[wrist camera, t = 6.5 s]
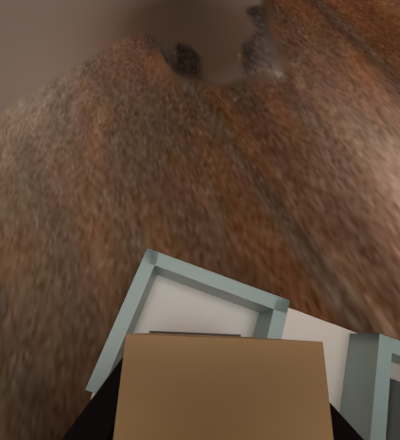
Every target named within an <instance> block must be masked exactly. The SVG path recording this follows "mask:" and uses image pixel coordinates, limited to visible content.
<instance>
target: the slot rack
mask: <svg viewBox="0 0 400 440" xmlns="http://www.w3.org/2000/svg"><path fill="white" fill-rule="evenodd" d="M289 302H290V301H289V300H287V299H284V298H281V297H279V296H276V295H273V294H270V293H268V292H265V291H262V290H259V289H257V288H254V287H251V286H249V285H246V284H243V283H240V282H238V281H235V280H232V279H230V278H227V277H224V276H221V275H219V274H216V273H213V272H210V271H208V270H205V269H202V268H200V267H197V266H194V265H191V264H189V263H186V262H183V261H180V260H178V259H175V258H172V257H170V256H167V255H164V254H161V253H159V252H156V251H153V250H151V249H148V248H147V250H146V252H145V255H144V257H143V259H142V261H141V264H140V266H139V268H138V271H137V273H136V275H135V277H134V280H133V282H132V284H131V287H130V289H129V291H128V293H127V296H126V298H125V300H124V303H123V305H122V307H121V309H120V312H119V314H118V316H117V319H116V321H115V323H114V325H113V328H112V330H111V332H110V334H109V337H108V339H107V341H106V344H105V346H104V348H103V350H102V353H101V355H100V357H99V360H98V362H97V364H96V366H95V369H94V371H93V373H92V376H91V378H90V380H89V382H88V385H87V387H86V389H85V390H87V391H90V392H92V393H93V394H92V396H91V399H92V398H93V396H94V395H95V394H96V392H97V391H98V390H99V388H100V387H101V386H102V384H103V383H104V381H105V380H106V379H107V377H108V376H109V375H110V373H111V372H112V371H113V369H114V368H115V367H116V365H117V364H118V362H119V361H120V360H121V358H122V357H123V355H124V347H125V339H126V334H138V333H149V331H168V332H192V333H217V334H241V337H255V338H270V339H286V340H302V341H317V342H323V348H324V358H325V367H326V376H327V385H328V394H329V402H330V403H331V404H332V405H333V406H334V407H335V408H336V410H337V411H338V412H339V413H340V414H341V415H342V416H343V417H344V418H345V419H346V420H347V422H348V423H349V424H350V425H351V426H352V427H353V428H354V429H355V430H356V431H357V433H358V434H359V435H360V436H361V437H362V438H363V439H364V440H386V427H387V413H388V399H389V386H390V378H391V379H394V380H397V381H399V382H400V341H398V340H396V339H393V338H390V337H387V336H385V335H382V334H358V333H356V332H353V331H350V330H347V329H345V328H342V327H339V326H337V325H334V324H331V323H328V322H326V321H323V320H320V319H318V318H315V317H312V316H309V315H307V314H304V313H301V312H299V311H296V310H293V309H290V308H288V307H289Z"/></svg>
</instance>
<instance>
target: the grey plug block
mask: <svg viewBox="0 0 400 440" xmlns="http://www.w3.org/2000/svg"><path fill="white" fill-rule="evenodd" d="M386 440H400V382H399V381H397V380H394V379H391V378H390V386H389V399H388V413H387V427H386Z"/></svg>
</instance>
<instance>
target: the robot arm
mask: <svg viewBox="0 0 400 440" xmlns="http://www.w3.org/2000/svg"><path fill="white" fill-rule="evenodd" d="M122 363H123V357H122V358H121V360H120V361H119V362H118V364H117V365H116V367H115V368H114V369H113V371H112V372H111V373H110V375H109V376H108V377H107V379H106V380H105V381H104V383H103V384H102V386H101V387H100V388H99V390H98V391H97V392H96V394H95V395H94V396H93V398H92V399H91V401H90V402H89V403H88V405H87V406H86V407H85V409H84V410H83V411H82V413H81V414H80V415H79V417H78V418H77V420H76V421H75V422H74V424H73V425H72V426H71V428H70V429H69V430H68V432H67V433H66V435H65V436H64V437H63V439H62V440H113V436H114V428H115V420H116V412H117V403H118V395H119V387H120V379H121V371H122ZM329 403H330V402H329ZM330 412H331V421H332V430H333V439H334V440H364V439H363V438H362V437H361V436H360V435H359V434H358V433H357V431H356V430H355V429H354V428H353V427H352V426H351V425H350V424H349V423H348V422H347V420H346V419H345V418H344V417H343V416H342V415H341V414H340V413H339V412H338V411H337V410H336V408H335V407H334V406H333V405H332V404H331V403H330Z"/></svg>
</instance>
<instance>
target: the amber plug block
mask: <svg viewBox="0 0 400 440" xmlns="http://www.w3.org/2000/svg"><path fill="white" fill-rule="evenodd" d="M113 440H334V439H333V430H332V421H331V412H330V403H329V394H328V385H327V376H326V367H325V358H324V348H323V342H317V341H302V340H286V339H270V338H255V337H241V334H217V333H192V332H168V331H149V333H138V334H126V339H125V347H124V355H123V363H122V371H121V379H120V387H119V395H118V403H117V412H116V420H115V428H114V436H113Z"/></svg>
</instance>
